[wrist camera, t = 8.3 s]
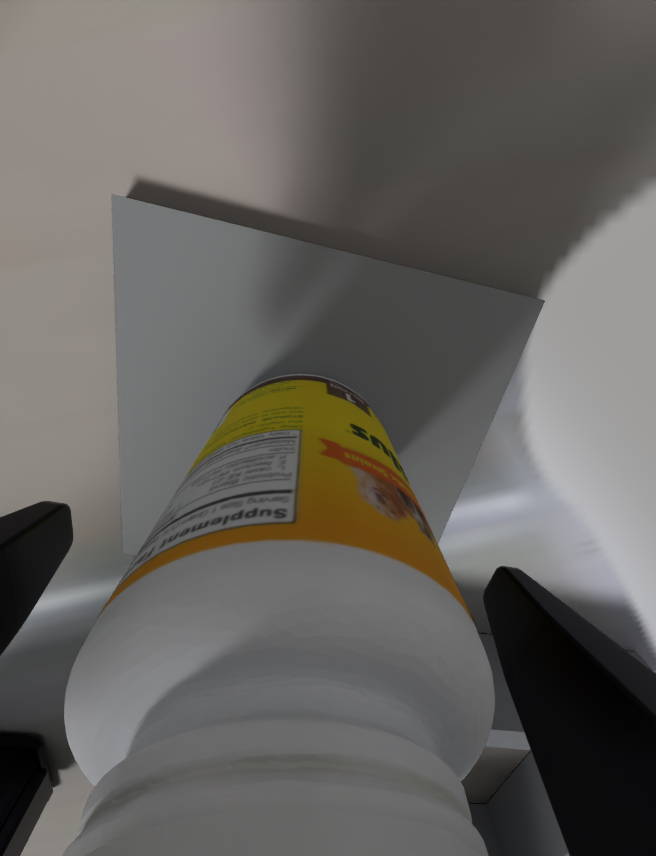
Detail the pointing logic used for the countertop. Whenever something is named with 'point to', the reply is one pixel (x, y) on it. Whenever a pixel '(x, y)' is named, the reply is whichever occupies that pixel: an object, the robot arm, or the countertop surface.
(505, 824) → the equipment case
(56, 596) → the countertop surface
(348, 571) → the supplement bottle
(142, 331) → the rubber mat
